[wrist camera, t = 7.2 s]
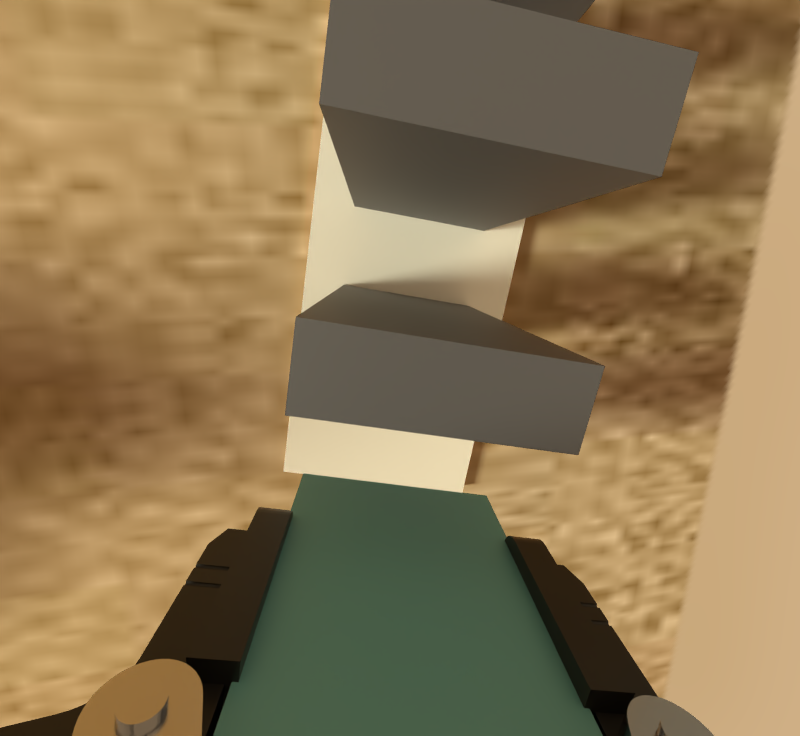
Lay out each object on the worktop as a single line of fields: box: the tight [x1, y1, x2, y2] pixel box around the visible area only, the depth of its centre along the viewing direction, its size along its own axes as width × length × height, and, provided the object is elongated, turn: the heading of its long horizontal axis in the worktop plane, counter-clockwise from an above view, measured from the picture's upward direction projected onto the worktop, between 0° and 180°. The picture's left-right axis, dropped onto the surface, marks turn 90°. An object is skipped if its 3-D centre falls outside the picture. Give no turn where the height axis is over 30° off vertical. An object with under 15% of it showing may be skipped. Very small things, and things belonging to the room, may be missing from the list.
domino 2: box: [285, 285, 605, 455], centre depth 11 cm, size 2×5×10 cm, turn 80°
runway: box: [284, 116, 526, 493], centre depth 15 cm, size 25×8×1 cm, turn 170°
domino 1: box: [319, 0, 699, 231], centre depth 10 cm, size 2×5×10 cm, turn 80°
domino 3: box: [213, 473, 603, 736], centre depth 6 cm, size 2×5×10 cm, turn 80°
